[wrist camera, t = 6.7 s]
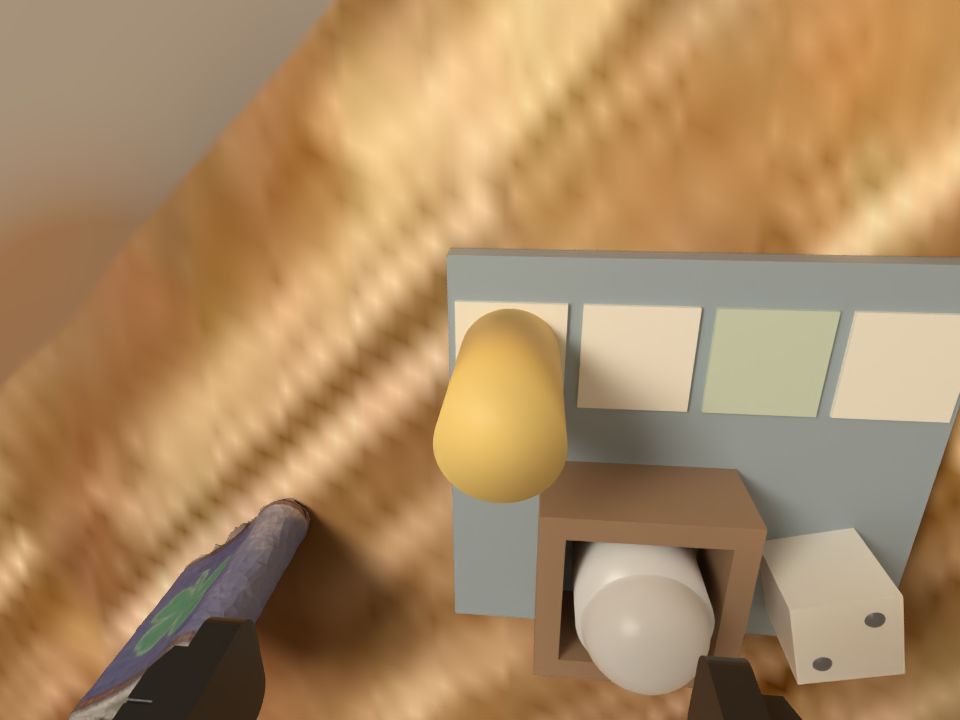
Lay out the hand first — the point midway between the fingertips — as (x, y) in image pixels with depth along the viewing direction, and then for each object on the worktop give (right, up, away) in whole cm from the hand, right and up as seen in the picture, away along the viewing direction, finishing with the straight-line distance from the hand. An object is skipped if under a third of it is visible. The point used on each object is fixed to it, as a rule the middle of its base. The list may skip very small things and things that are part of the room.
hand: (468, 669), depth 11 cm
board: (+9, +1, +16) cm, 19 cm away
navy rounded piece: (-12, -4, +21) cm, 25 cm away
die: (+15, -4, +17) cm, 23 cm away
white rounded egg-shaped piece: (+7, -3, +16) cm, 18 cm away
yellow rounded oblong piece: (+1, +6, +14) cm, 15 cm away
